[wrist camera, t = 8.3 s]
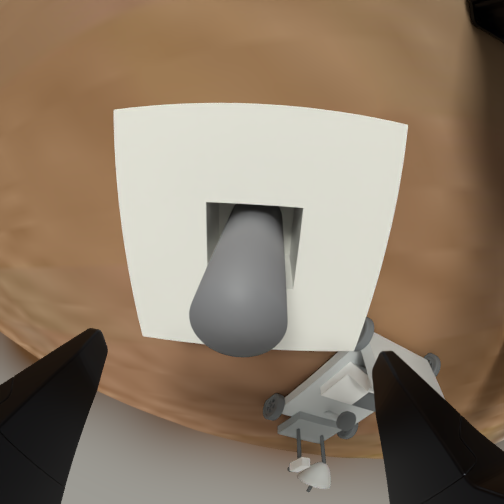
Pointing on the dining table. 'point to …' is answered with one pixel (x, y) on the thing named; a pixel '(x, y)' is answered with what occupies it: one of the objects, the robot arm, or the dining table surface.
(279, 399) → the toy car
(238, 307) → the peg
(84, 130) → the dining table surface
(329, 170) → the socket block
